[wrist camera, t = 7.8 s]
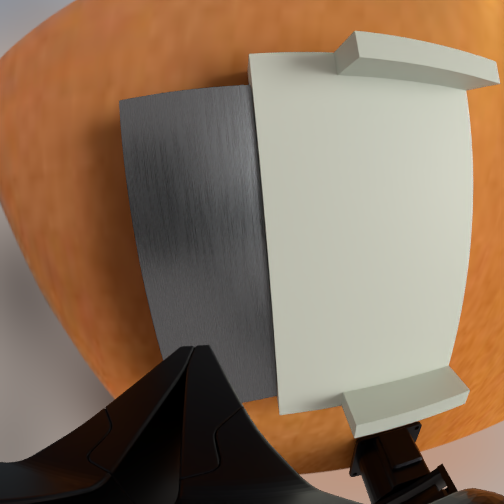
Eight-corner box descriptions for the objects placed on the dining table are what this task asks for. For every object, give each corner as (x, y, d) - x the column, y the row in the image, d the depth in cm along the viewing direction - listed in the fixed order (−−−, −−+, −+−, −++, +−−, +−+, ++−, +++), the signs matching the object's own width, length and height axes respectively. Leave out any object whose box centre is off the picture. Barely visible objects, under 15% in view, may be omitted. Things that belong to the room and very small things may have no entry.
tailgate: (277, 395, 18) (179, 411, 17) (273, 385, 19) (179, 401, 18) (250, 84, 13) (118, 100, 12) (246, 89, 14) (123, 104, 13)
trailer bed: (426, 356, 21) (464, 403, 15) (275, 385, 21) (285, 450, 15) (435, 79, 15) (495, 61, 10) (247, 71, 15) (251, 29, 9)
